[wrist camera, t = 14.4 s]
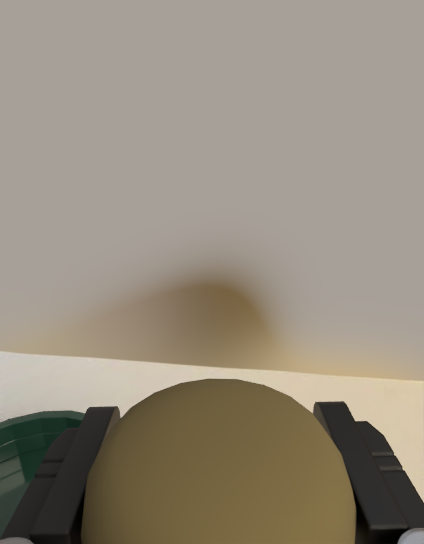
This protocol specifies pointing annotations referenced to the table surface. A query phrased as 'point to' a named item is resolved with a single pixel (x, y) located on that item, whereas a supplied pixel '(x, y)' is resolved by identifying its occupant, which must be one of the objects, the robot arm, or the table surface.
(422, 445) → the table surface
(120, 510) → the cork
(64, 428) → the dish
